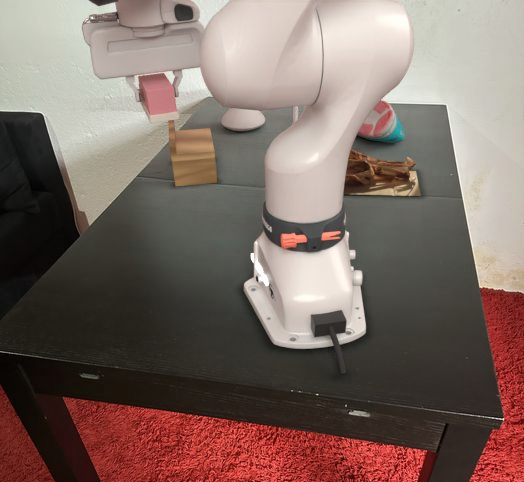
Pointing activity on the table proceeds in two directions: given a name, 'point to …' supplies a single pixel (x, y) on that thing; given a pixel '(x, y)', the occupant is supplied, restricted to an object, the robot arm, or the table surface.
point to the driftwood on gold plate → (380, 176)
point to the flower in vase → (242, 119)
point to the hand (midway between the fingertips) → (157, 98)
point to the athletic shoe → (382, 125)
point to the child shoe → (158, 98)
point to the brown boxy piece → (192, 156)
